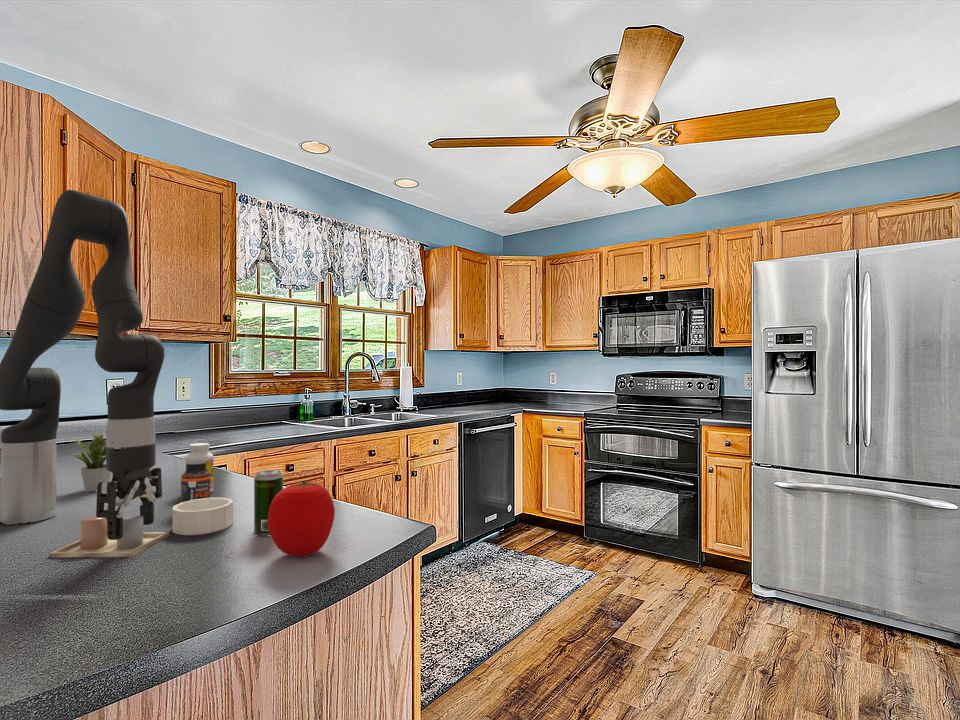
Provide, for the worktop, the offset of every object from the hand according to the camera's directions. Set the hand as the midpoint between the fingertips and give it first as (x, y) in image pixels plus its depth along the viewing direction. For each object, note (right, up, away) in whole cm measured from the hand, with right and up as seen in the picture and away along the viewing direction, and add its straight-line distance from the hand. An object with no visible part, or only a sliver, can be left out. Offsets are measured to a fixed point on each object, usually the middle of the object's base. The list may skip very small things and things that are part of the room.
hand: (131, 531), depth 94 cm
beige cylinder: (-7, -3, 0) cm, 7 cm away
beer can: (+21, -3, +9) cm, 23 cm away
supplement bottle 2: (-2, -4, +24) cm, 24 cm away
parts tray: (-4, -3, 0) cm, 5 cm away
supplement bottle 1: (-10, -4, +42) cm, 44 cm away
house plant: (-39, -4, +46) cm, 61 cm away
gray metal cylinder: (0, -3, 0) cm, 3 cm away
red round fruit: (+32, -3, -3) cm, 33 cm away
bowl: (+7, -3, +12) cm, 14 cm away
